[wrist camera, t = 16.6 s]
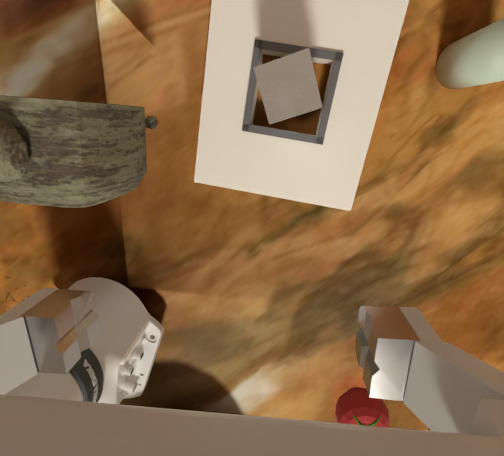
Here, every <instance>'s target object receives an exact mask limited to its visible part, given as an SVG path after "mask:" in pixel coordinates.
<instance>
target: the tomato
mask: <svg viewBox="0 0 504 456" xmlns="http://www.w3.org/2000/svg"><path fill="white" fill-rule="evenodd" d="M336 418H337V422H338V423H342V424H354V425H366V426H378V427H389V412H388V409H387V407H386V405H385V404H384V402H383V400H382V399H378V398H369V395H368V392H367V389H365V388H357V387H356V388H352V389H349V390H348V391H347V392H345V393H344V394H343V395H341V396H340V397H339V399H338V402H337V404H336Z"/></svg>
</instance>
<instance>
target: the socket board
mask: <svg viewBox="0 0 504 456" xmlns="http://www.w3.org/2000/svg"><path fill="white" fill-rule="evenodd" d="M408 3H409V0H212V4H211V14H210V24H209V35H208V45H207V55H206V66H205V76H204V86H203V96H202V107H201V117H200V127H199V137H198V148H197V158H196V168H195V178H194V182H197V183H202V184H208V185H213V186H218V187H224V188H229V189H235V190H240V191H245V192H251V193H256V194H262V195H267V196H272V197H278V198H283V199H289V200H294V201H299V202H305V203H310V204H316V205H321V206H326V207H332V208H337V209H343V210H348V211H351V208H352V204H353V201H354V197H355V193H356V190H357V186H358V183H359V179H360V175H361V172H362V168H363V165H364V161H365V157H366V154H367V150H368V147H369V143H370V139H371V136H372V132H373V129H374V125H375V121H376V118H377V114H378V111H379V107H380V103H381V100H382V96H383V93H384V89H385V85H386V82H387V78H388V75H389V71H390V67H391V64H392V60H393V57H394V53H395V49H396V46H397V42H398V39H399V35H400V31H401V28H402V24H403V21H404V17H405V13H406V10H407V6H408ZM307 48H309V49H310V54H311V58H312V62H316V63H322V64H328V65H331V66H330V71H329V76H328V80H327V85H326V89H325V94H324V98H323V103H322V108H321V112H320V117H319V121H318V126H317V130H316V135H311V134H305V133H299V132H294V131H288V130H282V129H276V128H270V127H264V126H259V125H253V120H254V114H255V107H256V101H257V94H258V87H259V86H258V82H257V78H256V75H255V71H254V67H257V66H259V65H262V61H263V55H264V54H265V55H271V56H278V57H284V56H287V55H290V54H293V53H296V52H298V51H301V50H304V49H307Z"/></svg>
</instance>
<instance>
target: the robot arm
mask: <svg viewBox="0 0 504 456" xmlns="http://www.w3.org/2000/svg"><path fill="white" fill-rule="evenodd" d="M358 320H359V323H360V325H361V328H360V329H359V330H358V331H357V332H356V356H357V360H358V364H359V366H360V367H361V368H362V369H364V373H363V380H364V383H365V386H366V389H367V392H368V395H369V398H378V399H388V400H397V401H403V403H404V404H405V405H406V406H407V407H408V408H409V409H410V410H411V411H412V412H413V413H414V414H415V415H416V416H417V417H418V418H419V419H420V420H421V421H422V422H423V423H424V424H425V425H426V426H427V427H428V428H429V429H430V430H431V431H424V430H412V429H401V428H389V427H378V426H366V425H354V424H342V423H331V422H319V421H307V420H295V419H284V418H272V417H260V416H249V415H237V414H225V413H213V412H202V411H190V410H178V409H167V408H155V407H143V406H132V405H120V403H121V401H122V400H123V398H135V397H139V396H141V395H142V393H143V392H144V390H145V388H146V385H147V382H148V379H149V375H150V372H151V369H152V366H153V363H154V360H155V357H156V354H157V351H158V348H159V345H160V342H161V338H162V335H163V332H164V328H163V326H162V325H161V324H160V323H159V322H158V321H157V320H156V319H155V318H153V317H152V316H151V315H150V314H149V313H148V311H147V310H146V308H145V307H144V305H143V303H142V302H141V301H140V299H139V298H138V297H137V296H136V295H135V294H134V293H133V292H132V291H131V290H129V289H128V288H127V287H125V286H123V285H122V284H120V283H118V282H115V281H113V280H110V279H106V278H100V277H90V278H85V279H81V280H79V281H77V282H75V283H74V284H72V285H71V286H70V287H69V288H68V289H51V288H46V289H40V290H39V291H37V292H36V293H34V294H33V295H31V296H30V297H28V298H27V299H25V300H24V301H22V302H21V303H19V304H18V305H16V306H15V307H13V308H12V309H10V310H9V311H7V312H6V313H4V314H3V315H0V456H504V373H503V372H501V371H500V370H498V369H496V368H494V367H492V366H491V365H489V364H487V363H485V362H483V361H481V360H480V359H478V358H476V357H474V356H472V355H470V354H469V353H467V352H465V351H463V350H461V349H460V348H458V347H456V346H454V345H452V344H450V343H444V342H443V341H442V340H441V339H440V337H439V336H438V335H437V333H436V332H435V331H434V329H433V328H432V327H431V325H430V324H429V323H428V321H427V320H426V319H425V317H424V316H423V315H422V313H421V312H420V311H419V309H417V308H415V307H387V306H361V307H360V310H359V316H358ZM152 335H154V336H155V337H154V336H152Z"/></svg>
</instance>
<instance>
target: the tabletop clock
mask: <svg viewBox="0 0 504 456" xmlns="http://www.w3.org/2000/svg"><path fill="white" fill-rule="evenodd" d="M157 125H158V121H157V119H156V118H155V117H154V116H148V117H146V119H145V114H144V107H139V106H127V105H115V104H103V103H90V102H78V101H65V100H52V99H40V98H27V97H14V96H1V95H0V201H6V202H14V203H21V204H31V205H42V206H53V207H67V208H85V207H89V206H94V205H97V204H101V203H104V202H107V201H109V200H112V199H114V198H117V197H119V196H122V195H124V194H126V193H128V192H130V191H132V190H134V189H136V188H137V187H138V186H139V184H140V182H141V180H142V179H143V177H144V175H145V173H146V171H147V166H146V140H145V128H146V127H148V128H150V129H153V128H156V127H157Z"/></svg>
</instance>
